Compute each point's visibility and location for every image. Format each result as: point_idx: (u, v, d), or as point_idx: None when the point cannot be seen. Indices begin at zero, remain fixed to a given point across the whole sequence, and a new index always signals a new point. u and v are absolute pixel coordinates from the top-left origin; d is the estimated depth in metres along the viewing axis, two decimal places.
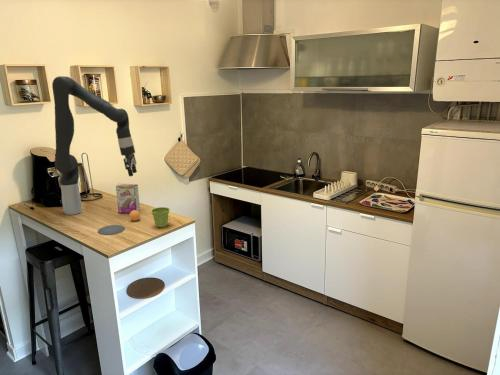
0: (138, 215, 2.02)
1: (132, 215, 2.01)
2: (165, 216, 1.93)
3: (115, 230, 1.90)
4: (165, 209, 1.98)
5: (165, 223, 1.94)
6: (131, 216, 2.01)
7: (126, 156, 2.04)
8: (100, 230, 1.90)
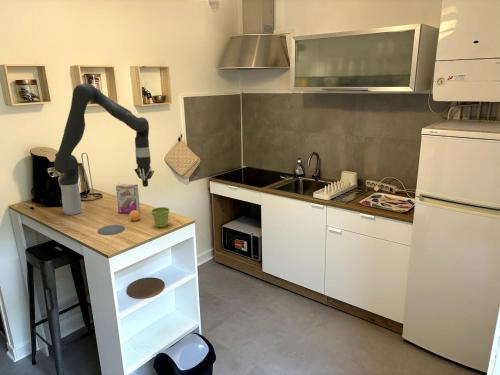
0: (138, 215, 2.02)
1: (132, 215, 2.01)
2: (165, 216, 1.93)
3: (115, 230, 1.90)
4: (165, 209, 1.98)
5: (165, 223, 1.94)
6: (131, 216, 2.01)
7: (148, 165, 2.03)
8: (100, 230, 1.90)
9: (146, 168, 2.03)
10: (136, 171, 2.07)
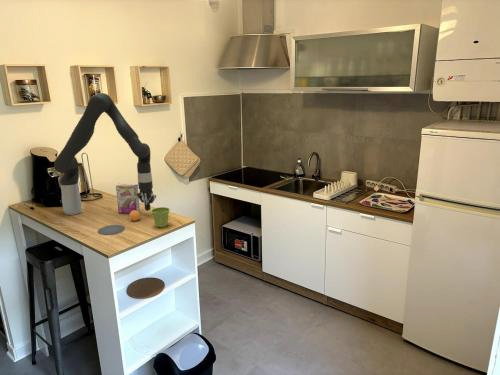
0: (138, 215, 2.02)
1: (132, 215, 2.01)
2: (165, 216, 1.93)
3: (115, 230, 1.90)
4: (165, 209, 1.98)
5: (165, 223, 1.94)
6: (131, 216, 2.01)
7: (150, 190, 2.06)
8: (100, 230, 1.90)
9: (148, 193, 2.06)
10: (138, 195, 2.10)
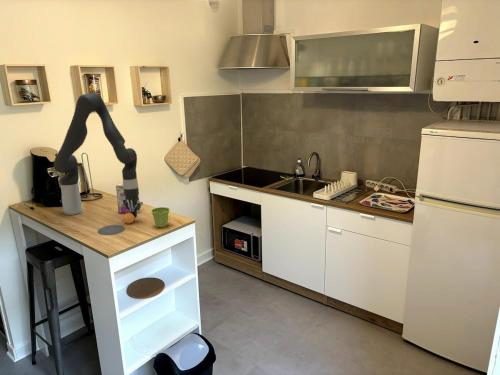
0: (132, 219, 1.98)
1: (127, 222, 1.98)
2: (165, 216, 1.93)
3: (115, 230, 1.90)
4: (165, 209, 1.98)
5: (165, 223, 1.94)
6: None
7: (136, 197, 1.98)
8: (100, 230, 1.90)
9: (134, 200, 1.98)
10: (124, 202, 2.02)
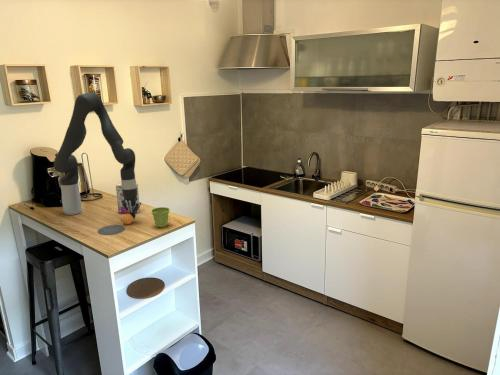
0: (130, 220, 1.97)
1: None
2: (165, 216, 1.93)
3: (115, 230, 1.90)
4: (165, 209, 1.98)
5: (165, 223, 1.94)
6: None
7: (135, 197, 1.97)
8: (100, 230, 1.90)
9: (133, 200, 1.97)
10: (123, 203, 2.01)
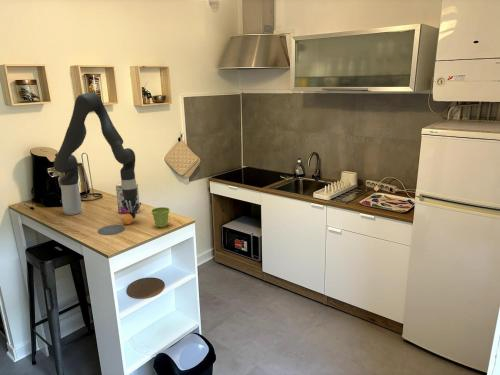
0: (130, 220, 1.97)
1: None
2: (165, 216, 1.93)
3: (115, 230, 1.90)
4: (165, 209, 1.98)
5: (165, 223, 1.94)
6: None
7: (135, 197, 1.97)
8: (100, 230, 1.90)
9: (133, 200, 1.97)
10: (123, 203, 2.01)
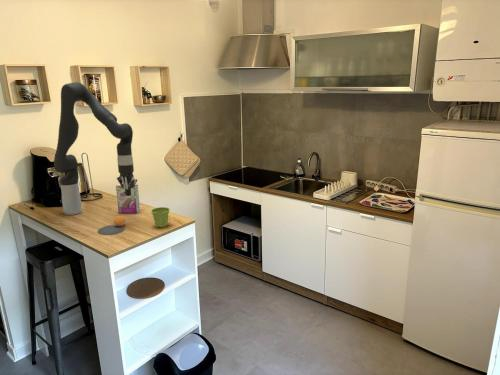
0: (122, 221, 1.94)
1: None
2: (165, 216, 1.93)
3: (115, 230, 1.90)
4: (165, 209, 1.98)
5: (165, 223, 1.94)
6: None
7: (131, 174, 1.93)
8: (100, 230, 1.90)
9: (129, 177, 1.93)
10: (118, 179, 1.97)
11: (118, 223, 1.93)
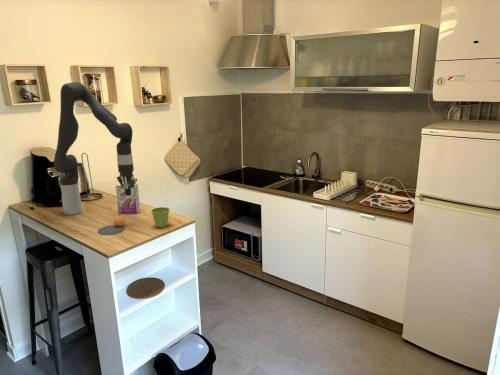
0: (122, 221, 1.94)
1: None
2: (165, 216, 1.93)
3: (115, 230, 1.90)
4: (165, 209, 1.98)
5: (165, 223, 1.94)
6: None
7: (131, 173, 1.93)
8: (100, 230, 1.90)
9: (128, 176, 1.93)
10: (118, 179, 1.97)
11: (118, 223, 1.93)
